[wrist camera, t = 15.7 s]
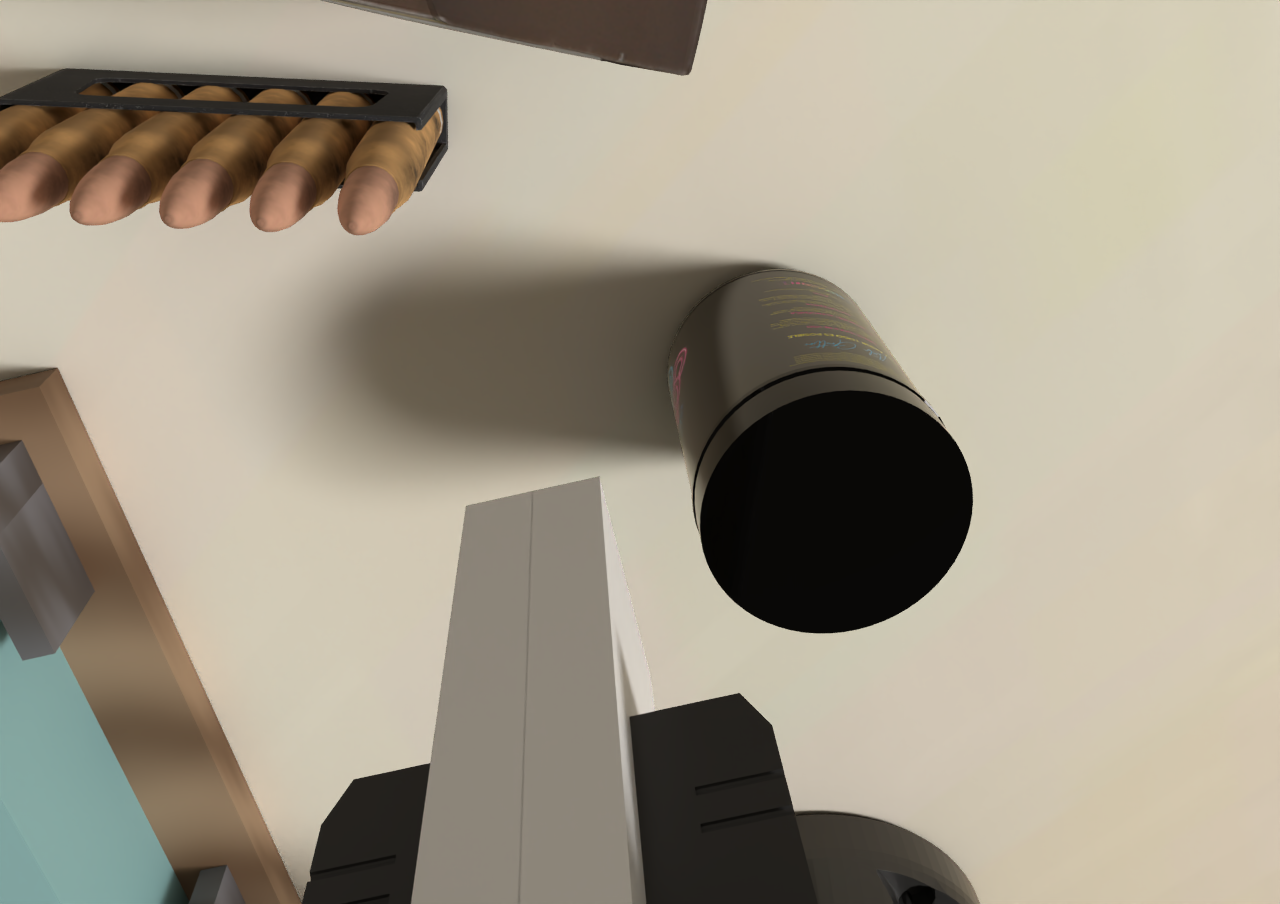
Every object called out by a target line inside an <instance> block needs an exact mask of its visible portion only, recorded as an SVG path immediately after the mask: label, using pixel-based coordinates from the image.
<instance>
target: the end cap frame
mask: <svg viewBox="0 0 1280 904" xmlns="http://www.w3.org/2000/svg"><path fill="white" fill-rule="evenodd" d="M0 619H1V621H2V623H3V625H4V627H5V629H6V631H7V632H8V634H9V636H10V638H11V640H12V642H13V644H14V646H15V648H16V649H17V651H18V653H19V655H20V657H21V659H22V661H24V660H28V659H33V658H37V657H42V656H46V655H51V654H55V653H56V651H57V650H58V648H59V646H60V648H61V650H62V652H63V654H64V656H65V658H66V660H67V662H68V664H69V666H70V668H71V670H72V672H73V674H74V676H75V678H76V680H77V682H78V684H79V686H80V688H81V690H82V691H83V693H84V695H85V697H86V699H87V701H88V703H89V705H90V707H91V709H92V711H93V713H94V715H95V717H96V719H97V721H98V723H99V725H100V727H101V729H102V731H103V733H104V735H105V737H106V739H107V741H108V743H109V745H110V747H111V748H112V750H113V752H114V754H115V756H116V758H117V760H118V762H119V764H120V766H121V768H122V770H123V772H124V774H125V776H126V778H127V780H128V782H129V784H130V786H131V788H132V790H133V792H134V794H135V796H136V798H137V800H138V802H139V804H140V805H141V807H142V809H143V811H144V813H145V815H146V817H147V819H148V821H149V823H150V825H151V827H152V829H153V831H154V833H155V835H156V837H157V839H158V841H159V843H160V845H161V847H162V849H163V851H164V853H165V855H166V857H167V859H168V861H169V862H170V864H171V866H172V868H173V870H174V872H175V874H176V876H177V878H178V880H179V882H180V884H181V886H182V888H183V890H184V892H185V894H186V896H187V898H188V900H189V904H302V903H301V901H300V899H299V897H298V894H297V892H296V890H295V888H294V886H293V883H292V881H291V879H290V877H289V875H288V872H287V870H286V868H285V866H284V864H283V861H282V859H281V857H280V855H279V853H278V851H277V848H276V846H275V844H274V842H273V840H272V837H271V835H270V833H269V831H268V829H267V826H266V824H265V822H264V820H263V818H262V815H261V813H260V811H259V809H258V807H257V804H256V802H255V800H254V798H253V796H252V793H251V791H250V789H249V787H248V785H247V782H246V780H245V778H244V776H243V774H242V771H241V769H240V767H239V765H238V763H237V760H236V758H235V756H234V754H233V752H232V750H231V747H230V745H229V743H228V741H227V739H226V736H225V734H224V732H223V730H222V728H221V725H220V723H219V721H218V719H217V717H216V714H215V712H214V710H213V708H212V706H211V703H210V701H209V699H208V697H207V695H206V692H205V690H204V688H203V686H202V684H201V681H200V679H199V677H198V675H197V673H196V670H195V668H194V666H193V664H192V662H191V660H190V657H189V655H188V653H187V651H186V649H185V646H184V644H183V642H182V640H181V638H180V635H179V633H178V631H177V629H176V627H175V624H174V622H173V620H172V618H171V616H170V613H169V611H168V609H167V607H166V605H165V602H164V600H163V598H162V596H161V594H160V591H159V589H158V587H157V585H156V583H155V580H154V578H153V576H152V574H151V572H150V569H149V567H148V565H147V563H146V561H145V559H144V556H143V554H142V552H141V550H140V548H139V545H138V543H137V541H136V539H135V537H134V534H133V532H132V530H131V528H130V526H129V523H128V521H127V519H126V517H125V515H124V512H123V510H122V508H121V506H120V504H119V501H118V499H117V497H116V495H115V493H114V490H113V488H112V486H111V484H110V482H109V479H108V477H107V475H106V473H105V471H104V468H103V466H102V464H101V462H100V460H99V458H98V455H97V453H96V451H95V449H94V447H93V444H92V442H91V440H90V438H89V436H88V433H87V431H86V429H85V427H84V425H83V422H82V420H81V418H80V416H79V414H78V411H77V409H76V407H75V405H74V403H73V400H72V398H71V396H70V394H69V392H68V389H67V387H66V385H65V383H64V381H63V378H62V376H61V374H60V372H59V370H58V368H56V369H52V370H48V371H43V372H39V373H34V374H30V375H26V376H21V377H17V378H12V379H8V380H4V381H0Z"/></svg>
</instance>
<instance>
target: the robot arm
mask: <svg viewBox="0 0 1280 904" xmlns="http://www.w3.org/2000/svg"><path fill="white" fill-rule="evenodd" d="M310 876H311V882H307V886H306V890H305V894H304V898H303V902H302V904H980V902H979V900H978V898H977V895H976V893H975V891H974V889H973V887H972V885H971V883H970V881H969V880H968V878H967V877H966V875H965V874H964V873H963V871H962V870H961V869H960V868H959V867H958V865H957V864H956V863H955V862H954V861H953V860H952V859H951V858H950V857H949V856H947V855H946V854H945V853H944V852H943V851H942V850H940V849H939V848H937V847H936V846H935V845H933V844H932V843H930V842H928V841H927V840H925V839H923V838H922V837H920V836H918V835H916V834H914V833H912V832H910V831H907V830H905V829H902V828H900V827H897V826H894V825H891V824H888V823H885V822H881V821H877V820H873V819H867V818H862V817H855V816H846V815H801V816H795V814H794V810H793V805H792V801H791V797H790V794H789V790H788V786H787V782H786V778H785V775H784V770H783V766H782V762H781V758H780V755H779V751H778V747H777V743H776V739H775V735H774V731H773V727H772V725H771V724H770V723H769V722H768V721H767V720H766V719H765V718H764V717H763V716H762V715H761V714H760V713H759V712H758V711H757V710H756V709H755V708H754V707H753V706H752V705H751V704H750V703H749V702H748V701H747V700H746V699H745V698H744V697H743V696H742V695H741V694H740V693H738V694H733V695H728V696H724V697H719V698H714V699H709V700H705V701H700V702H695V703H691V704H686V705H681V706H677V707H672V708H667V709H663V710H658V711H655V706H654V698H653V690H652V682H651V675H650V671H649V667H648V663H647V660H646V656H645V652H644V648H643V644H642V640H641V636H640V632H639V628H638V624H637V621H636V617H635V613H634V609H633V605H632V601H631V597H630V593H629V589H628V586H627V582H626V578H625V574H624V570H623V566H622V562H621V558H620V554H619V550H618V547H617V543H616V539H615V535H614V531H613V527H612V523H611V519H610V515H609V512H608V508H607V504H606V500H605V496H604V492H603V488H602V484H601V480H600V476H599V477H595V478H590V479H586V480H581V481H576V482H572V483H567V484H563V485H558V486H554V487H549V488H545V489H540V490H536V491H531V492H527V493H522V494H518V495H513V496H509V497H504V498H500V499H495V500H491V501H486V502H481V503H477V504H472V505H468V506H466V510H465V517H464V524H463V531H462V539H461V546H460V553H459V560H458V568H457V575H456V582H455V589H454V596H453V604H452V611H451V618H450V625H449V633H448V640H447V647H446V654H445V662H444V669H443V676H442V683H441V690H440V698H439V705H438V712H437V719H436V727H435V734H434V741H433V748H432V756H431V763H429V764H424V765H420V766H415V767H410V768H406V769H401V770H396V771H392V772H387V773H382V774H378V775H373V776H368V777H364V778H359V779H354V780H353V781H352V783H351V784H350V786H349V787H348V788H347V790H346V791H345V793H344V794H343V795H342V797H341V798H340V800H339V801H338V802H337V804H336V805H335V807H334V808H333V809H332V811H331V812H330V814H329V815H328V816H327V818H326V819H325V821H324V822H323V823H322V825H321V828H320V832H319V836H318V841H317V845H316V849H315V853H314V857H313V861H312V865H311V869H310Z"/></svg>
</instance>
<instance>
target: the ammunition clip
mask: <svg viewBox="0 0 1280 904" xmlns="http://www.w3.org/2000/svg"><path fill="white" fill-rule="evenodd" d="M447 150H448V121H447V89H446V88H445V87H444V86H435V85H414V84H392V83H370V82H349V81H327V80H306V79H284V78H262V77H241V76H219V75H197V74H176V73H154V72H132V71H111V70H89V69H68V68H67V69H62V70H60V71H58V72H55V73H53V74H51V75H49V76H46V77H44V78H42V79H40V80H37V81H35V82H33V83H31V84H29V85H26V86H24V87H22V88H20V89H17V90H15V91H13V92H11V93H8V94H6V95H4V96H2V97H0V222H14V221H20V220H24V219H27V218H30V217H33V216H36V215H38V214H41V213H44V212H45V211H47V210H49V209H51V208H52V207H54V206H58V205H60V204H62V203H64V202H66V201H69V200H71V201H70V214H71V217H72V218H73V220H75V221H76V222H78V223H80V224H83V225H104V224H108V223H111V222H114V221H117V220H120V219H122V218H124V217H127V216H129V215H130V214H132V213H133V212H134V211H136V210H137V209H140V208H142V207H144V206H146V205H147V204H149V203H154V202H157V201H160V209H159V213H160V216H161V219H162V221H163V222H164V223H165V224H166V225H167V226H169V227H172V228H176V229H183V228H191V227H194V226H197V225H201V224H203V223H205V222H207V221H209V220H211V219H213V218H214V217H215V216H216V215H217V214H219V213H220V212H222V211H224V210H225V209H226V208H228V207H229V206H231V205H234V204H237V203H240V202H243V201H244V200H246V199H247V198H248V197H249V196H251V195H252V196H251V200H250V217H251V220H252V222H253V224H254V225H255V227H257V228H258V229H259V230H262V231H265V232H276V231H280V230H283V229H286V228H288V227H291V226H292V225H294V224H295V223H296V222H298V221H299V220H300V219H301V218H303V217H304V216H305V215H306V214H307V213H308V212H309V211H310V210H311V209H312V208H313V207H316V206H319V205H321V204H323V203H324V202H325V201H326V200H328V199H329V198H330V197H331V196H332V195H333V194H334V192H335V191H336V189H337V188H342V189H341V191H340V195H339V200H338V216H339V220H340V223H341V225H342V226H343V228H344V229H345V230H346V231H347V232H349V233H351V234H353V235H365V234H368V233H371V232H373V231H375V230H377V229H378V228H379V227H380V226H382V225H383V224H384V223H385V222H386V221H387V220H388V219H389V218H390V216H391V214H392V213H393V212H394V211H395V210H396V209H397V208H399V207H400V206H401V205H403V204H404V203H405V202H406V201H408V199H409V198H410V196H411V195H412V193H413V191H418V192H419V191H422V190H423V188H424V187H425V185H426V183H427V182H428V180H429V179H430V177H431V175H432V174H433V172H434V171H435V169H436V167H437V166H438V164H439V162H440V161H441V159H442V158H443V156H444V154H445V153H446V151H447Z"/></svg>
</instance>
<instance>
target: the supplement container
mask: <svg viewBox="0 0 1280 904" xmlns="http://www.w3.org/2000/svg"><path fill="white" fill-rule="evenodd" d="M667 379H668V389H669V393H670V398H671V403H672V407H673V412H674V416H675V421H676V425H677V430H678V434H679V439H680V443H681V448H682V452H683V457H684V461H685V466H686V470H687V474H688V479H689V483H690V488H691V492H692V506H693V512H694V517H695V522H696V526H697V529H698V531H699V534H700V539H701V543H702V548H703V552H704V555H705V558H706V561H707V564H708V566H709V568H710V570H711V572H712V574H713V576H714V577H715V579H716V581H717V582H718V584H719V585H720V586H721V588H722V589H723V590H724V591H725V593H726V594H727V595H728V596H729V597H730V598H731V599H732V600H733V601H734V602H735V603H737V604H738V605H739V606H740V607H742V608H743V609H744V610H745V611H747V612H749V613H750V614H752V615H753V616H755V617H757V618H759V619H761V620H763V621H765V622H767V623H770V624H773V625H775V626H778V627H781V628H785V629H789V630H793V631H799V632H806V633H838V632H846V631H852V630H857V629H861V628H864V627H868V626H871V625H874V624H877V623H879V622H882V621H885V620H887V619H889V618H891V617H893V616H895V615H897V614H899V613H901V612H902V611H904V610H906V609H908V608H909V607H910V606H912V605H913V604H915V603H916V602H918V601H919V600H920V599H921V598H923V597H924V596H925V595H926V594H927V593H929V592H930V591H931V590H932V589H933V588H934V587H935V586H936V585H937V584H938V583H939V581H940V580H941V579H942V578H943V577H944V576H945V574H946V573H947V572H948V570H949V569H950V567H951V566H952V565H953V563H954V562H955V560H956V558H957V556H958V554H959V553H960V551H961V548H962V546H963V544H964V541H965V539H966V536H967V533H968V530H969V526H970V521H971V516H972V506H973V492H972V483H971V477H970V473H969V470H968V466H967V464H966V461H965V459H964V456H963V454H962V452H961V450H960V449H959V447H958V445H957V443H956V442H955V440H954V439H953V438H952V436H951V435H950V433H949V432H948V431H947V429H946V427H945V426H944V424H943V422H942V420H941V419H940V417H939V416H938V414H937V413H936V412H935V410H934V409H933V407H932V406H931V405H930V404H929V403H928V402H927V401H926V400H925V399H924V397H923V396H921V394H920V393H919V392H918V390H917V389H916V387H915V386H914V385H913V383H912V382H911V380H910V379H909V377H908V376H907V375H906V373H905V372H904V370H903V369H902V367H901V366H900V365H899V363H898V362H897V360H896V359H895V357H894V356H893V355H892V353H891V352H890V350H889V349H888V348H887V346H886V345H885V343H884V342H883V340H882V339H881V338H880V336H879V335H878V333H877V332H876V330H875V329H874V328H873V326H872V325H871V323H870V322H869V321H868V319H867V318H866V316H865V315H864V313H863V312H862V311H861V309H860V308H859V307H858V305H857V304H856V303H855V302H854V301H853V299H852V298H851V297H850V296H849V295H848V294H846V293H845V292H844V291H843V290H842V289H840V288H839V287H837V286H836V285H834V284H833V283H831V282H829V281H827V280H825V279H824V278H821V277H819V276H816V275H814V274H810V273H806V272H803V271H797V270H790V269H769V270H762V271H756V272H752V273H748V274H745V275H742V276H739V277H736V278H734V279H732V280H730V281H728V282H726V283H724V284H722V285H721V286H719V287H717V288H716V289H714V290H713V291H711V292H710V293H709V294H707V295H706V296H705V297H704V298H703V299H702V300H701V301H699V302H698V304H697V305H696V306H695V307H694V308H693V309H692V310H691V311H690V313H689V314H688V315H687V317H686V318H685V319H684V321H683V323H682V324H681V326H680V328H679V330H678V332H677V334H676V336H675V338H674V341H673V344H672V347H671V351H670V355H669V360H668V372H667Z"/></svg>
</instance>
